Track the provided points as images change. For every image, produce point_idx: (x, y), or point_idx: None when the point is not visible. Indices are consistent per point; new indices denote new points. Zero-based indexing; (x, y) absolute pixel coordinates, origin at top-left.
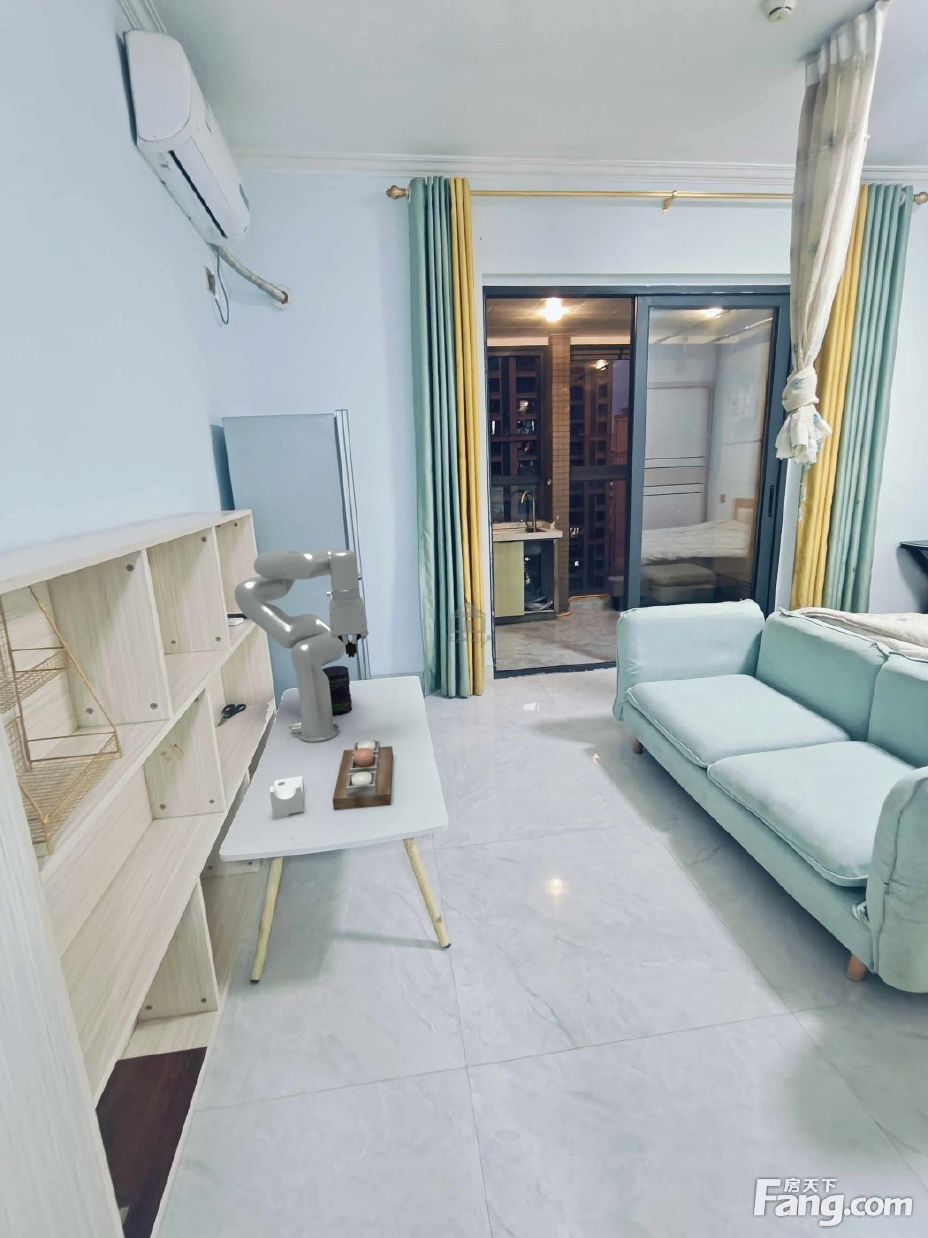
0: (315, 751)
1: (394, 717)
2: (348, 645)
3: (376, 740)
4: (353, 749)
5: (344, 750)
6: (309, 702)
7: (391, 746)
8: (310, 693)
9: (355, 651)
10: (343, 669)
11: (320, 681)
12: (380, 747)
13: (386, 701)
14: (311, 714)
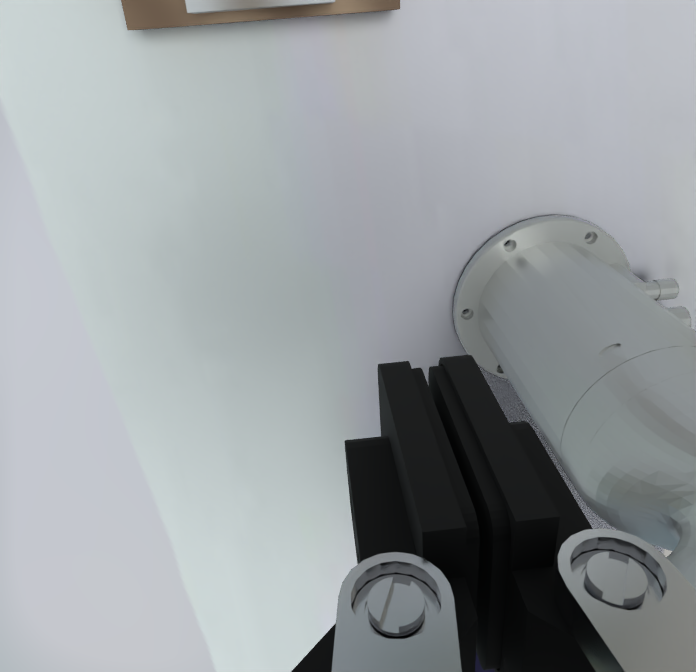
0: (544, 122)
1: (224, 427)
2: (524, 506)
3: (204, 8)
4: (346, 12)
5: (395, 4)
6: (660, 318)
7: (131, 26)
8: (682, 347)
9: (360, 454)
10: (490, 669)
11: (648, 414)
12: (194, 20)
13: (288, 558)
14: (617, 286)
